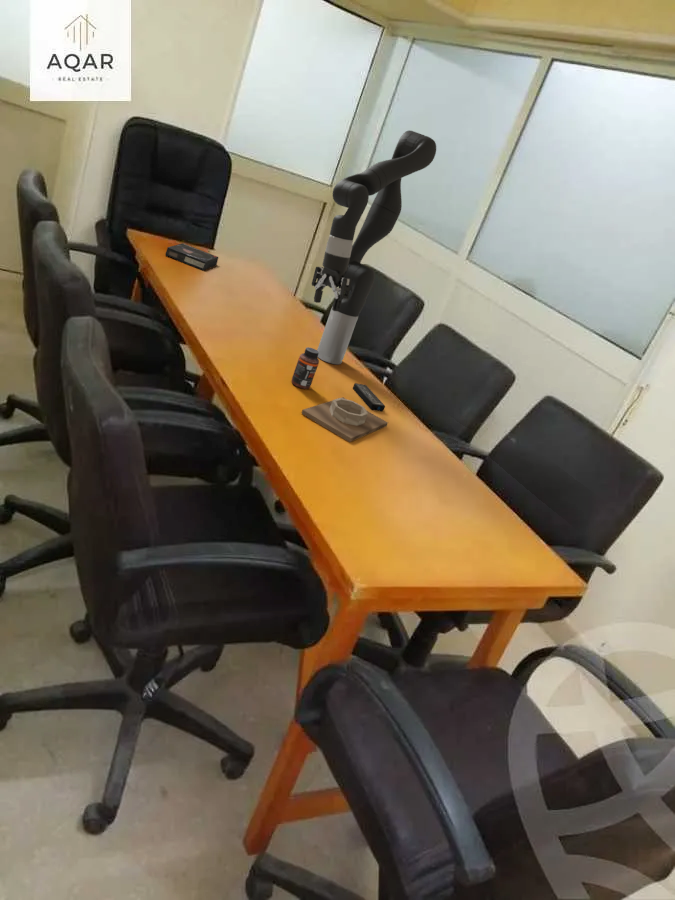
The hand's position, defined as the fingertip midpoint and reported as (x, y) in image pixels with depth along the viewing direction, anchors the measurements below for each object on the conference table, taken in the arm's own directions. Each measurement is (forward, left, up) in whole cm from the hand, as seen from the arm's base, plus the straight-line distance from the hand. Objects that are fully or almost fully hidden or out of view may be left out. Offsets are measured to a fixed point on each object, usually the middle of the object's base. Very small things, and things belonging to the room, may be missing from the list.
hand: (326, 306), depth 208 cm
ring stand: (+21, +28, -20) cm, 41 cm away
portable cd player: (-43, -90, -21) cm, 102 cm away
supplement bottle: (+15, +8, -21) cm, 27 cm away
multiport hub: (-1, +23, -21) cm, 32 cm away
